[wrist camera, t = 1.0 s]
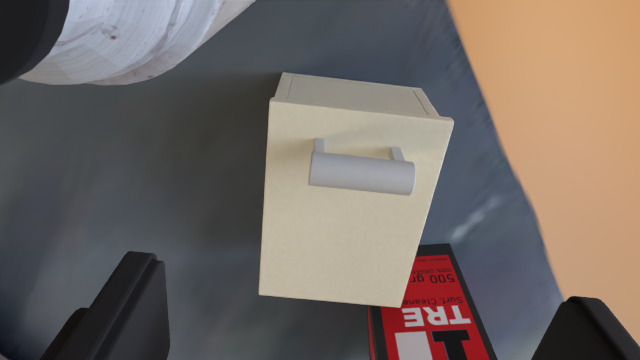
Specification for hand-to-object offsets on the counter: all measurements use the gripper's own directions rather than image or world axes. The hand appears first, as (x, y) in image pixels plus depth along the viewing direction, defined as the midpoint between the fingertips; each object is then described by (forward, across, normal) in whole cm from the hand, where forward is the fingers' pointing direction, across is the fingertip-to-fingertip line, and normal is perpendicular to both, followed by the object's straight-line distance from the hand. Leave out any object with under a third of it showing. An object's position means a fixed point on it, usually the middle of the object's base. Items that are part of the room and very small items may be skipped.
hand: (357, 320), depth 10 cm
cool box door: (+19, -2, +9) cm, 21 cm away
